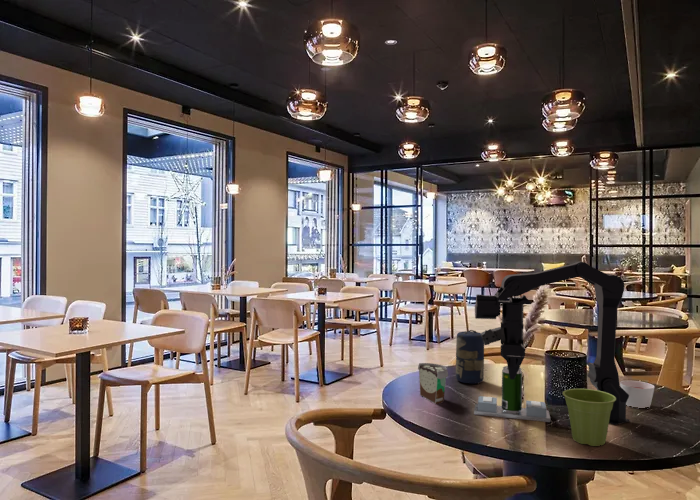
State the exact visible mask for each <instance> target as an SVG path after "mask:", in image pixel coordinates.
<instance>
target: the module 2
mask: <svg viewBox="0 0 700 500" xmlns="http://www.w3.org/2000/svg"><path fill="white" fill-rule="evenodd" d="M525 408H526V413H527V416H537V417H546V410H547V406H546V402H545V401H535V400H528V399H527V400H525Z"/></svg>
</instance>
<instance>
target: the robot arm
mask: <svg viewBox="0 0 700 500" xmlns="http://www.w3.org/2000/svg"><path fill="white" fill-rule="evenodd" d="M576 278H581V279H582V280H584V281H585V282H587V283H589V284H590V285H592V286H593V287H594V293H595V298H596V300H597V301H596V302H597V304H598V320H597V323H598V324H597V341H596V342H597V343H596V357H595V360H594V362H588V364H587V365H588V366H587V367H588V373H587V376H586V377H588V378H589V382H590V384H592V386H593V387H594V388H595V389H596V390H598V391H603V392H606V393H609V394H612V395H613V396H615V397H616V401H615V402H614V403H613V407H612V410H611V414H610V419H609V424H611V425H614V426H617V425H621V424H624V423H629V422H630V419H628V418H627V406H626V402H627V400H628V398H629V395H628V394H627V393H626V392H625V391H624V390H623V389H622V388H621V386H620V382H621V381H620V376H619V372H618V367H617V365H616V360H615V359H616V358H615V357H616V356H615V355H616V334H617V314H618V308H619V305H620V303H621V301H622V299H623V296H624V290H625V282H624V280H623V279H622V277H620V276H618V275H615V274H608V273H605V272H603V271H601V270H600V269H597V268H595V267H593V266H591V265H590V264H588V263H587V262H585V261H576V262H574V263H571V264H570V263H569V264H566V265H562V266H561V265H560V266H558V267H554V268H553V267H552V268H549V269H546V270H541V271H537V272H532V273H517V274H515V273H514V274H507V275H505V276H503V279H502V280H501V286H500V287H499V288H498V290H497V291H496V292H495V293H494V294H493V295H487V294H485V295H484V294H480V293H479V294H476V295H475V304H474V317H475V319H477V320H478V319H481V320H496V319H497V317H499V316H501V322H500V326H499V327H495V328H490V329H485V330H484V331H482V332H480V333H481V336H482V340H483V342H484V346H487V345H488V346H489V345H490V344H494V343H497V342H499V341H500V356H501V357H502V358H503V359H504V360H505V361H506V364H507V365H506V366H508V371H509V376H510V379H515V377H516V374H517V372H518V370H519V368H521V366H522V364H523V361H524V359H525V357H526V348H525V346H524V305H532V302H531V301H530V300H529V299H528V298H527V296H526V295H524V294H526V293H528V292H530V291H533V290H534V289H536V288H539V287H541V286H542V287H543V286H546V285H550V284H555V283H558V282H559V283H560V282H563V281H568V280H571V279H576ZM519 296H520V297H519ZM508 299H509V300H508ZM501 310H502V311H501Z"/></svg>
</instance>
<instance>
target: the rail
mask: <svg viewBox="0 0 700 500" xmlns="http://www.w3.org/2000/svg"><path fill="white" fill-rule="evenodd" d="M473 414H474V415H476V416H488V417H494V418H495V417H496V418H497V417H498V418H506V419H515V420H526V421H527V420H528V421H535V422H544V423H551V416H550V411H549V410H547V409H546V417H537V416H527V413H526V407H525V408H524V407H522V410H521V412H520V413H507V412H505V411H503V409H502V405H497V409H496V412H487V411H478V403H475V405H474V409H473Z"/></svg>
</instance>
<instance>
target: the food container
mask: <svg viewBox="0 0 700 500" xmlns="http://www.w3.org/2000/svg"><path fill="white" fill-rule="evenodd" d="M417 370H418V374H419V376H418V377H419V378H418V379H419V380H418V381H419V396H420V395H421V396H423V397H424V398H423V397H422V398H423V399H425V398H426V399H425V400H427V399H428V400H427V401H429V402H430V401H431V402H430V403H432V402H433V403H432V404H434V403H435V404H434V405H440V404H443V403H444V402H443V401H445V392H446V381H447V378H448V377H449V370H448V369H447V367H446V366H444V365H442V364H438V363H432V362H431V363H430V362H420V363H418V368H417ZM421 396H420V397H421ZM442 402H443V403H442ZM439 403H440V404H439Z"/></svg>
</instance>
